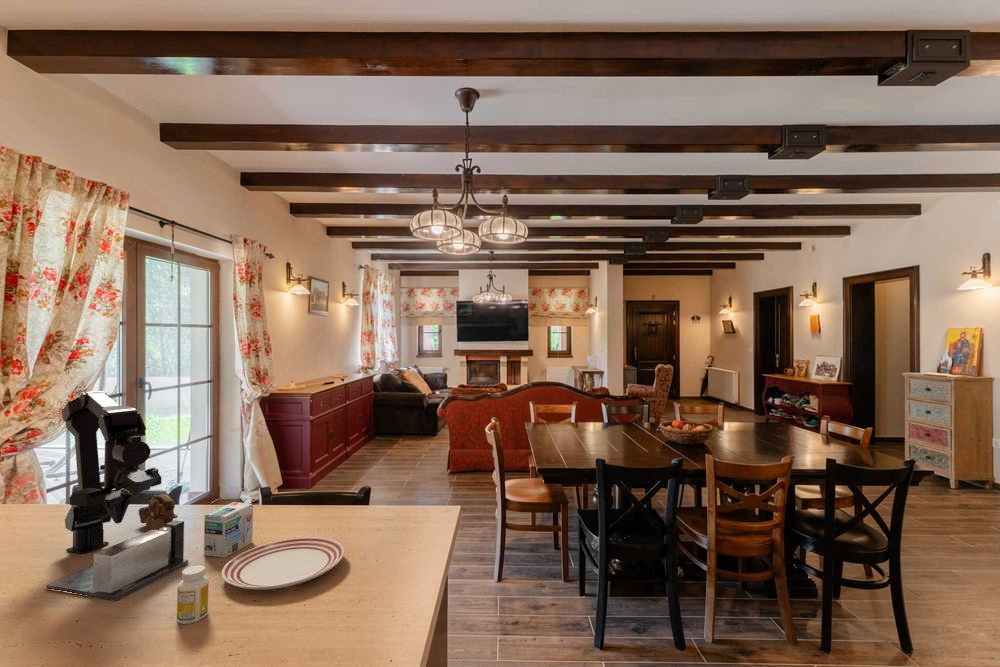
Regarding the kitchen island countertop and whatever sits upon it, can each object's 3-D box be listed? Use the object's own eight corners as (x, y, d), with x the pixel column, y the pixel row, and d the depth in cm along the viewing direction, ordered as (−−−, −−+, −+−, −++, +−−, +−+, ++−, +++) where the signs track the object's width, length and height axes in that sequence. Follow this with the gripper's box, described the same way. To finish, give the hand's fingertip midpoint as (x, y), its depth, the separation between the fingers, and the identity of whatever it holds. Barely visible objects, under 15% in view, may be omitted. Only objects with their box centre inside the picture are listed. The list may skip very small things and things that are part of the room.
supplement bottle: (181, 628, 94) (182, 578, 94) (172, 618, 98) (173, 570, 98) (212, 616, 98) (212, 569, 98) (202, 606, 102) (203, 561, 102)
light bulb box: (224, 558, 124) (225, 516, 125) (202, 556, 126) (203, 514, 126) (253, 541, 135) (254, 503, 135) (232, 539, 136) (233, 501, 136)
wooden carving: (131, 527, 144) (131, 494, 145) (147, 522, 149) (148, 490, 149) (167, 536, 138) (167, 501, 138) (183, 530, 142) (183, 496, 142)
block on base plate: (46, 589, 108) (47, 544, 109) (128, 553, 127) (129, 515, 127) (116, 601, 104) (117, 554, 104) (191, 561, 122) (192, 522, 122)
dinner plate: (192, 587, 110) (193, 573, 110) (284, 541, 136) (284, 529, 136) (287, 611, 101) (287, 595, 101) (366, 556, 126) (366, 544, 126)
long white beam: (92, 590, 105) (93, 553, 105) (161, 557, 121) (161, 525, 121) (110, 593, 104) (111, 556, 104) (177, 560, 120) (177, 527, 120)
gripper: (106, 471, 108) (104, 541, 108) (179, 453, 127) (177, 512, 126) (68, 468, 111) (66, 536, 111) (145, 450, 129) (143, 509, 129)
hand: (118, 523), depth 119 cm, fingers closed
